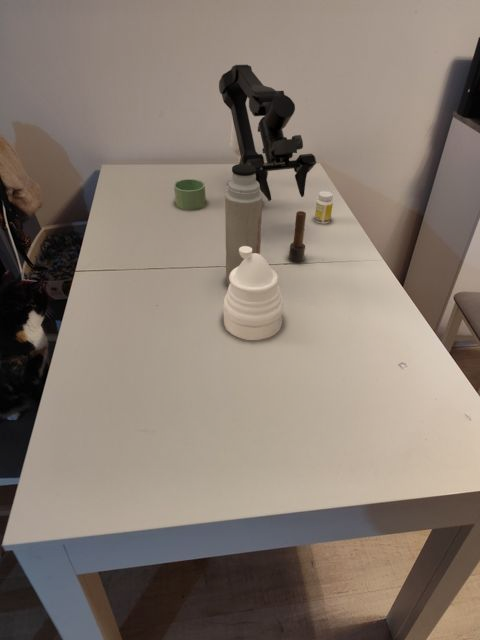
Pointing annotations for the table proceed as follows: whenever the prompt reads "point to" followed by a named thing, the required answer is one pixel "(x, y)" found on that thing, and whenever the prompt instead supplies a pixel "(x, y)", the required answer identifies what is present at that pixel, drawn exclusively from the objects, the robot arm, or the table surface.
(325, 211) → the supplement bottle
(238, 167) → the thermos bottle
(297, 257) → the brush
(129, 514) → the table surface
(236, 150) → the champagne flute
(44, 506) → the table surface
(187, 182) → the jar
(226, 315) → the honey pot
